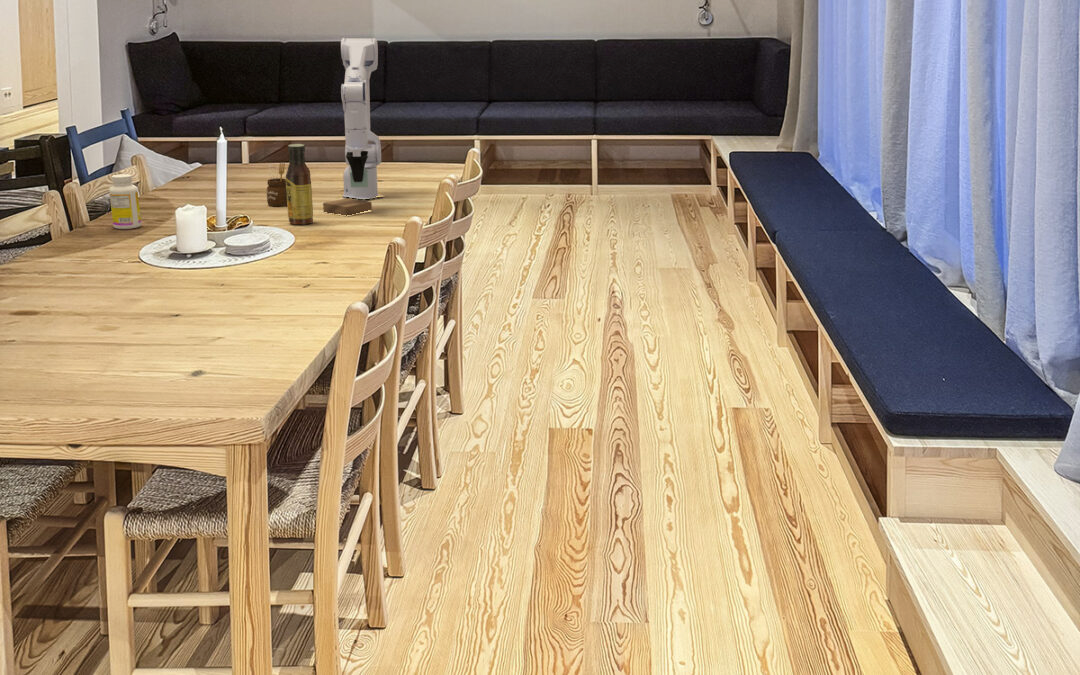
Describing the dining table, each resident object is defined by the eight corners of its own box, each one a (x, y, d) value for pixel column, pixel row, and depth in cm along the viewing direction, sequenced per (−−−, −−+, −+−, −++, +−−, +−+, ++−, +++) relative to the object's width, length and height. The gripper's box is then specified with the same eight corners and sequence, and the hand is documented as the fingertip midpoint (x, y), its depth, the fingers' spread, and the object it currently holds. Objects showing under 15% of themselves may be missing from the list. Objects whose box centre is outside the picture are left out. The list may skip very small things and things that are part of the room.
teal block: (350, 187, 292) (350, 172, 291) (351, 184, 297) (350, 169, 296) (368, 187, 293) (367, 172, 292) (368, 184, 297) (367, 169, 296)
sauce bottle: (290, 220, 284) (285, 142, 278) (314, 220, 285) (310, 142, 279) (286, 226, 278) (281, 146, 272) (312, 225, 279) (307, 146, 273)
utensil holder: (281, 202, 309) (279, 159, 306) (294, 205, 305) (291, 161, 302) (263, 205, 305) (260, 161, 302) (275, 208, 301) (272, 163, 298)
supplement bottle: (130, 223, 280) (125, 172, 277) (147, 226, 277) (142, 175, 273) (107, 227, 275) (101, 175, 271) (124, 230, 272) (118, 178, 268)
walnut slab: (323, 214, 296) (323, 202, 295) (348, 209, 303) (348, 198, 302) (347, 218, 290) (346, 206, 290) (371, 213, 297) (371, 202, 296)
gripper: (371, 131, 284) (373, 184, 288) (371, 125, 298) (373, 175, 302) (343, 131, 283) (346, 184, 287) (344, 125, 297) (347, 176, 301)
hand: (358, 180), depth 294 cm, fingers closed on teal block, 4 cm apart
